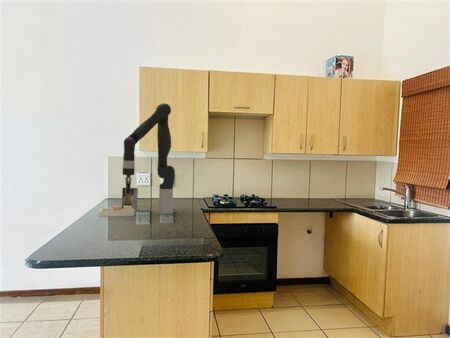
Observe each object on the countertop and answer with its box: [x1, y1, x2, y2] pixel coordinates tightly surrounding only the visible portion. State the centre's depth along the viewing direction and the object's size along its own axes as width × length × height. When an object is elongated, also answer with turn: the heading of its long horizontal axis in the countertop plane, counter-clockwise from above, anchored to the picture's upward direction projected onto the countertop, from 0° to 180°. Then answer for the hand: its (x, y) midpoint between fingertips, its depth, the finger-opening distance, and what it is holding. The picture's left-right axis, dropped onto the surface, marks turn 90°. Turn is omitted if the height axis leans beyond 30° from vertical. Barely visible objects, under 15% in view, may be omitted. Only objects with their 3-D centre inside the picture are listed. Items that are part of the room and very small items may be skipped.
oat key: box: [123, 206, 132, 210], centre depth 209 cm, size 5×5×3 cm
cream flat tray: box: [99, 208, 135, 218], centre depth 207 cm, size 21×8×4 cm, turn 109°
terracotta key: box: [112, 205, 122, 211], centre depth 207 cm, size 5×5×3 cm
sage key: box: [101, 206, 112, 211], centre depth 205 cm, size 5×5×3 cm
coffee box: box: [121, 187, 139, 212], centre depth 227 cm, size 9×6×16 cm
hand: (127, 193), depth 209 cm, fingers closed
